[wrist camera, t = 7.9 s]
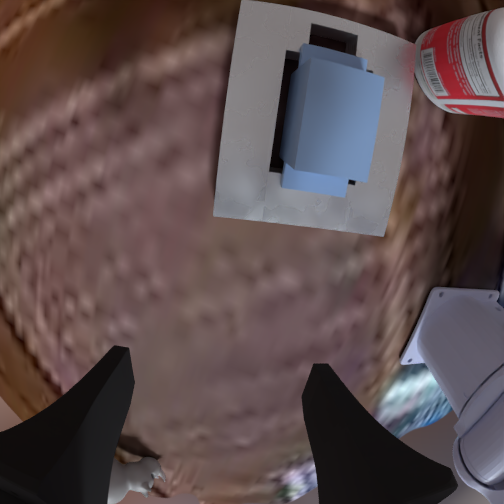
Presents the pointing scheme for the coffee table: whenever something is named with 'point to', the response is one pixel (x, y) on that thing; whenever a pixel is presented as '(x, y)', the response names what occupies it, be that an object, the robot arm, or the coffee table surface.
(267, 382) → the coffee table surface
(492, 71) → the pill bottle
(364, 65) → the block
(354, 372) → the coffee table surface
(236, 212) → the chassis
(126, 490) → the round bodied animal figurine
